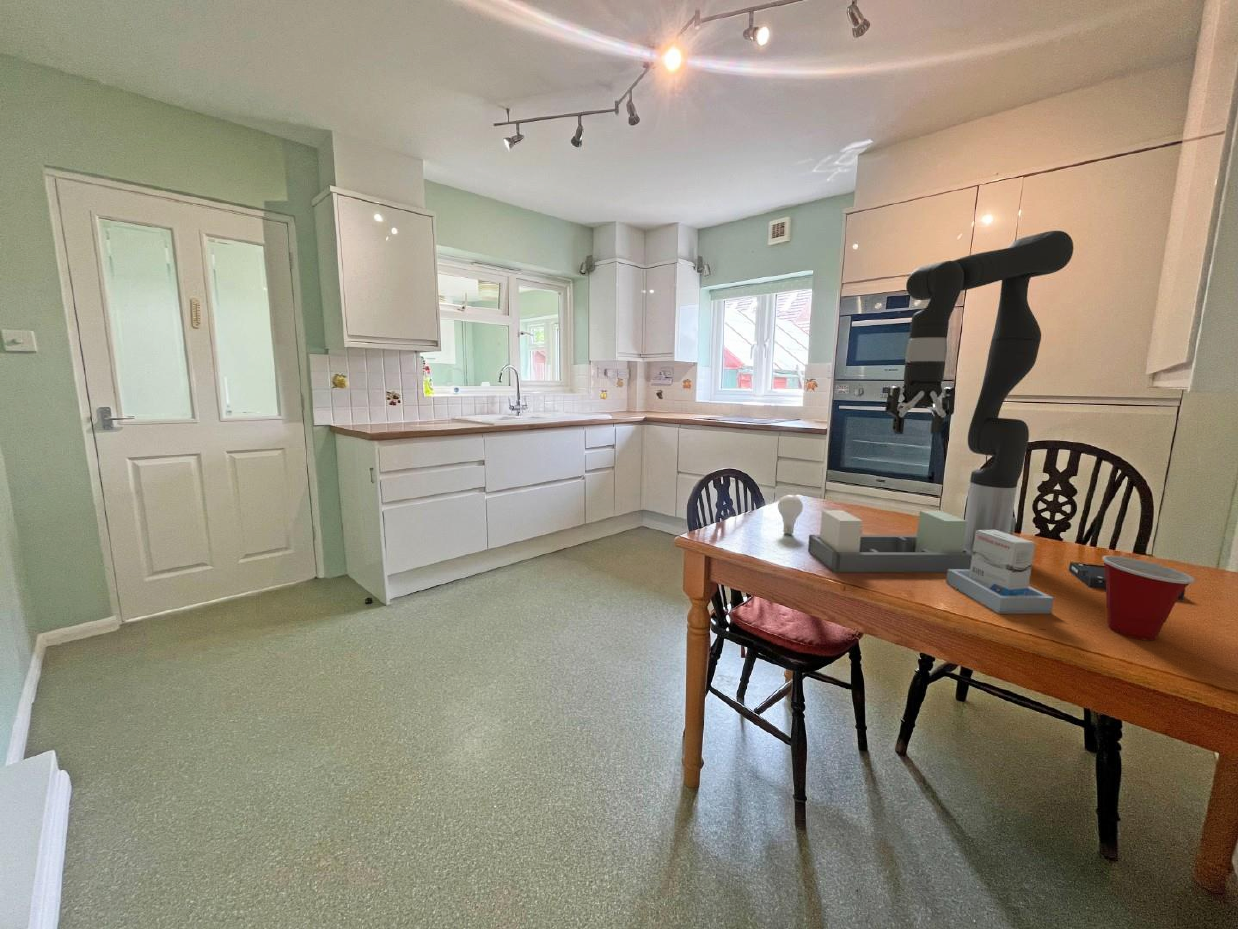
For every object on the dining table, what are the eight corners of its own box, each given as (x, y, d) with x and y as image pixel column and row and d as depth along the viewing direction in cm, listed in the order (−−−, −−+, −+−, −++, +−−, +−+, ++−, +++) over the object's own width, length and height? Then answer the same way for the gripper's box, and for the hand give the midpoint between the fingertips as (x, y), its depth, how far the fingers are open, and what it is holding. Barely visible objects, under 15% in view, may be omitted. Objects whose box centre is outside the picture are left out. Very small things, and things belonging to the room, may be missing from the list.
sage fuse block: (934, 554, 123) (940, 510, 121) (960, 568, 114) (967, 521, 112) (914, 554, 123) (919, 510, 121) (939, 568, 114) (945, 521, 112)
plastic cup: (1199, 654, 79) (1216, 581, 77) (1115, 643, 82) (1129, 573, 80) (1149, 622, 89) (1162, 557, 87) (1075, 613, 92) (1087, 551, 90)
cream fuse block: (838, 554, 122) (842, 510, 120) (857, 568, 113) (862, 520, 111) (818, 554, 122) (822, 510, 120) (835, 568, 113) (840, 520, 111)
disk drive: (1088, 590, 104) (1184, 602, 99) (1090, 577, 104) (1187, 589, 98) (1067, 573, 114) (1153, 583, 108) (1068, 561, 113) (1155, 570, 108)
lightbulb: (803, 538, 134) (807, 498, 132) (779, 537, 134) (782, 497, 132) (796, 531, 140) (799, 492, 138) (773, 530, 140) (775, 492, 138)
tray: (992, 582, 106) (994, 569, 105) (1051, 613, 92) (1054, 598, 91) (945, 582, 105) (947, 569, 105) (998, 613, 91) (1001, 598, 91)
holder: (933, 550, 125) (935, 535, 125) (975, 571, 112) (977, 554, 111) (807, 550, 124) (809, 534, 123) (834, 572, 110) (836, 554, 109)
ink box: (1027, 601, 95) (1037, 541, 93) (1006, 603, 94) (1015, 543, 92) (986, 583, 103) (994, 528, 101) (966, 585, 102) (974, 529, 100)
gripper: (944, 361, 114) (935, 432, 116) (883, 360, 113) (876, 432, 116) (969, 360, 106) (959, 436, 109) (904, 358, 105) (895, 435, 108)
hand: (916, 434), depth 112 cm, fingers open, 8 cm apart
